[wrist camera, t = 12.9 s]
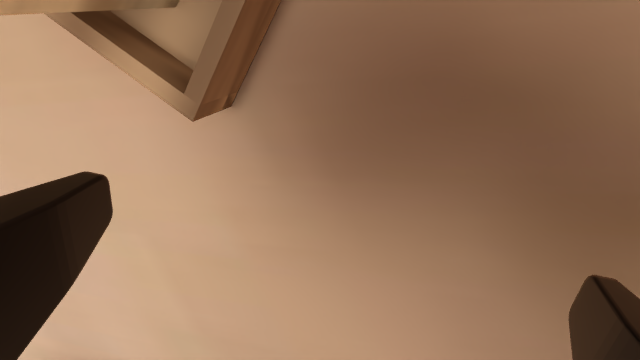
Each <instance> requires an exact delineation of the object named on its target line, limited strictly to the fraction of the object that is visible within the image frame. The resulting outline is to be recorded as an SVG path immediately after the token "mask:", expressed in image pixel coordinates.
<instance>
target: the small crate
mask: <svg viewBox="0 0 640 360" xmlns="http://www.w3.org/2000/svg"><path fill="white" fill-rule="evenodd" d="M179 1H180V0H0V15H17V14H39V13H62V12H84V11H107V10H130V9H152V8H175V7H176V6H177V4H178V2H179Z"/></svg>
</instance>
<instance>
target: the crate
mask: <svg viewBox="0 0 640 360" xmlns="http://www.w3.org/2000/svg"><path fill="white" fill-rule="evenodd" d="M280 1H281V0H180V1H179V2H178V4H177V6H176V7H175V8H152V9H130V10H107V11H84V12H62V13H44V14H45V15H47V16H48V17H49V18H51V19H52V20H53V21H55V22H56V23H58V24H59V25H60V26H62V27H63V28H64V29H66V30H67V31H69V32H70V33H71V34H73V35H74V36H75V37H77V38H78V39H80V40H81V41H82V42H84V43H85V44H86V45H88V46H89V47H91V48H92V49H93V50H95V51H96V52H97V53H99V54H100V55H102V56H103V57H104V58H106V59H107V60H108V61H110V62H111V63H113V64H114V65H115V66H117V67H118V68H119V69H121V70H122V71H124V72H125V73H126V74H128V75H129V76H130V77H132V78H133V79H135V80H136V81H137V82H139V83H140V84H141V85H143V86H144V87H146V88H147V89H148V90H150V91H151V92H152V93H154V94H155V95H157V96H158V97H159V98H161V99H162V100H163V101H165V102H166V103H168V104H169V105H170V106H172V107H173V108H174V109H176V110H177V111H179V112H180V113H181V114H183V115H184V116H185V117H187V118H188V119H190V120H191V121H192V122H193V121H196V120H198V119H201V118H203V117H206V116H208V115H211V114H213V113H216V112H218V111H221V110H223V109H226V108H229V107H231V105H232V103H233V101H234V99H235V97H236V94H237V92H238V90H239V88H240V86H241V84H242V82H243V80H244V77H245V75H246V73H247V71H248V69H249V67H250V65H251V63H252V61H253V58H254V56H255V54H256V52H257V50H258V48H259V46H260V44H261V41H262V39H263V37H264V35H265V33H266V31H267V29H268V27H269V25H270V22H271V20H272V18H273V16H274V14H275V12H276V10H277V8H278V5H279V3H280Z"/></svg>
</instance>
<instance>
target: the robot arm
mask: <svg viewBox="0 0 640 360" xmlns="http://www.w3.org/2000/svg"><path fill="white" fill-rule="evenodd" d="M112 213H113V209H112V201H111V194H110V186H109V181H108V179H107V177H106V176H104V175H102V174H97V173H92V172H81V173H77V174H74V175H71V176H67V177H64V178H61V179H57V180H54V181H51V182H47V183H44V184H41V185H37V186H34V187H30V188H27V189H24V190H20V191H17V192H14V193H10V194H7V195H4V196H0V360H17V359H18V358H19V356H20V355H21V354H22V352H23V351H24V350H25V348H26V347H27V346H28V344H29V343H30V342H31V340H32V339H33V338H34V336H35V335H36V334H37V332H38V331H39V330H40V328H41V327H42V326H43V324H44V323H45V322H46V320H47V319H48V318H49V316H50V315H51V314H52V312H53V311H54V310H55V308H56V307H57V305H58V304H59V303H60V301H61V300H62V299H63V297H64V296H65V295H66V293H67V292H68V291H69V289H70V288H71V286H72V285H73V283H74V282H75V280H76V279H77V277H78V276H79V274H80V272H81V271H82V269H83V267H84V266H85V264H86V262H87V260H88V259H89V257H90V255H91V254H92V252H93V250H94V249H95V247H96V245H97V244H98V242H99V240H100V238H101V237H102V235H103V233H104V232H105V230H106V228H107V227H108V225H109V223H110V221H111V218H112ZM569 328H570V338H571V347H572V357H573V360H640V299H639V298H638V297H636V296H635V295H634V294H633V293H632V292H630V291H629V290H628V289H627V288H626V287H624V286H623V285H622V284H621V283H620V282H618V281H617V280H615V279H612V278H607V277H602V276H597V275H591V276H589V277H588V278H587V279H586V280H585V281H584V283H583V285H582V287H581V289H580V291H579V293H578V295H577V297H576V299H575V301H574V302H573V304H572V306H571V309H570V312H569Z"/></svg>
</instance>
